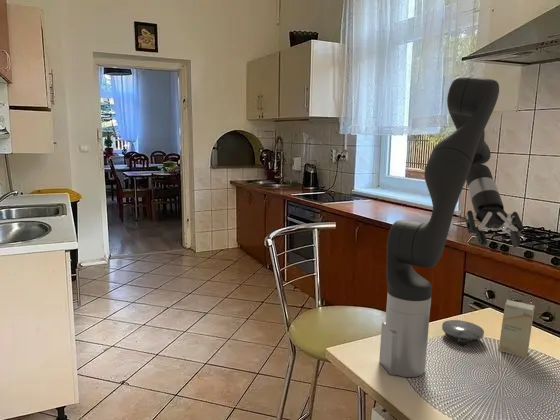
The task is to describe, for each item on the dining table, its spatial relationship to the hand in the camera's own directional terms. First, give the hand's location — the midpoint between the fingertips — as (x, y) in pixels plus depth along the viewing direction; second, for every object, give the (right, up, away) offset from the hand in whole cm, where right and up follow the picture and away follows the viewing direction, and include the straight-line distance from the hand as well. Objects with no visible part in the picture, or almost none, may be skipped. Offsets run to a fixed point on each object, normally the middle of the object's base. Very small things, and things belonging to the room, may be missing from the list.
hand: (500, 245), depth 115 cm
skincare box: (-1, -26, -8) cm, 27 cm away
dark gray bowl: (-11, -24, -2) cm, 27 cm away
